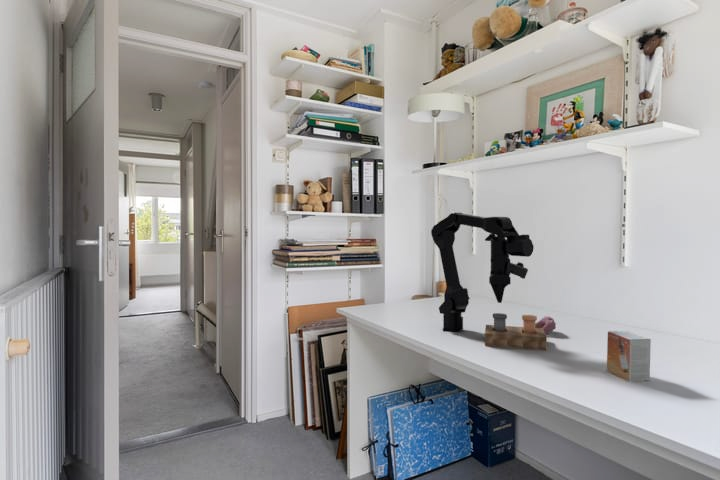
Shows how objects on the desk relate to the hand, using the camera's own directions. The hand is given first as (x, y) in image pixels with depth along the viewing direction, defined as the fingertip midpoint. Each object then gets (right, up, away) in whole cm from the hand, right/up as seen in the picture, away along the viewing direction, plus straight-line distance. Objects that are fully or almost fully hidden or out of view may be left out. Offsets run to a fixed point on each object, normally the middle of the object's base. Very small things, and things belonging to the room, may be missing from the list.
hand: (499, 302), depth 135 cm
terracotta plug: (+9, -10, -3) cm, 14 cm away
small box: (+22, -14, -31) cm, 40 cm away
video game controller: (+20, -13, +12) cm, 26 cm away
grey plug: (0, -10, 0) cm, 10 cm away
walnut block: (+4, -13, -1) cm, 14 cm away
